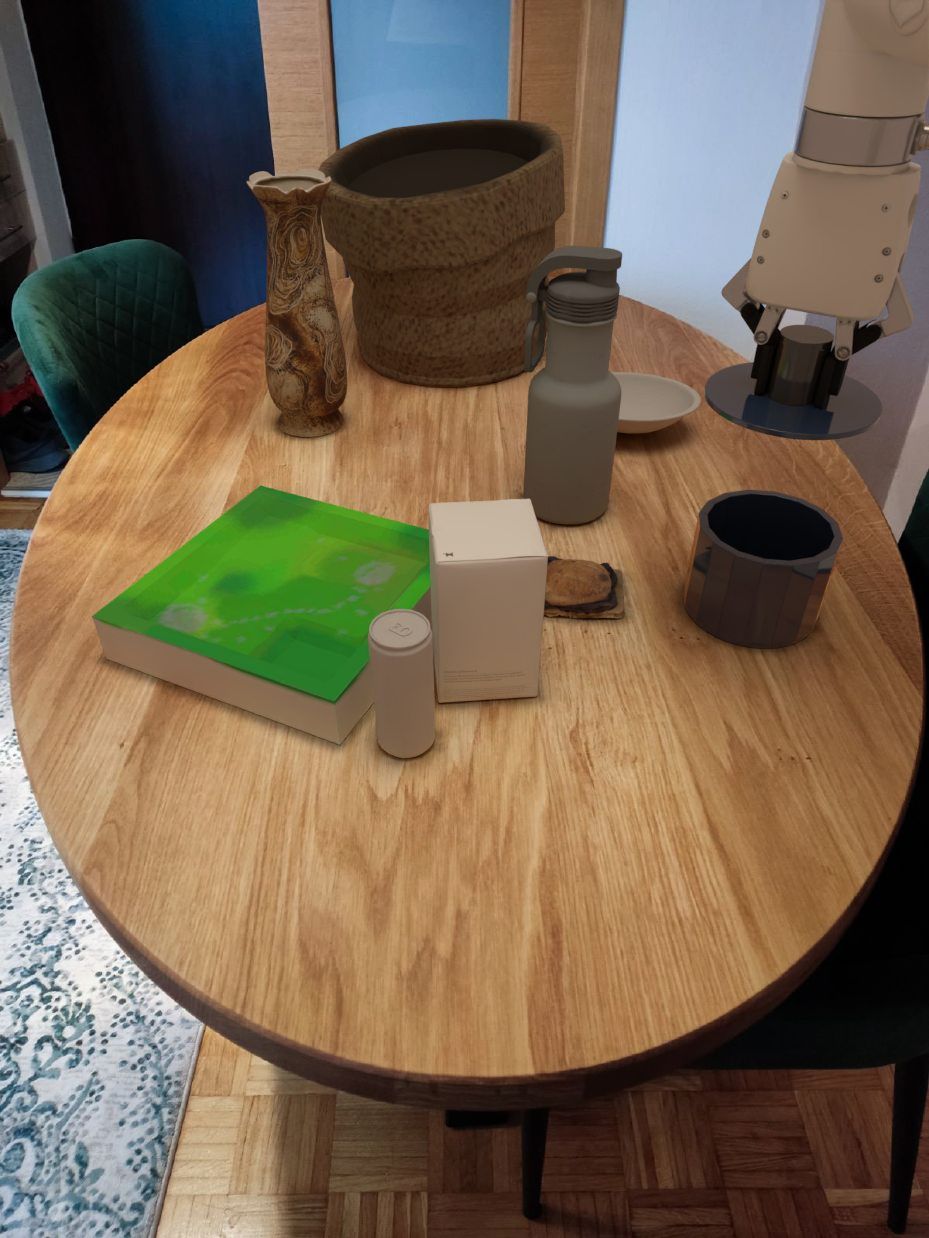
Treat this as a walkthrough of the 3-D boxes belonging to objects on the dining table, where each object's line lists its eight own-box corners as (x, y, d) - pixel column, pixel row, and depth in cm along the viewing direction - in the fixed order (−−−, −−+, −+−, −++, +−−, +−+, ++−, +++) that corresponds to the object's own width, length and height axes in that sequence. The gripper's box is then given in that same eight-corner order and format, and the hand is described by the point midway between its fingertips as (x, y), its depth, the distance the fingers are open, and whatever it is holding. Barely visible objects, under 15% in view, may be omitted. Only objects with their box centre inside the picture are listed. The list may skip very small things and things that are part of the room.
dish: (557, 452, 111) (560, 416, 108) (560, 403, 122) (563, 368, 119) (699, 460, 109) (706, 423, 106) (689, 409, 120) (695, 375, 117)
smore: (622, 573, 91) (626, 543, 89) (624, 624, 84) (628, 593, 82) (519, 566, 92) (521, 536, 89) (513, 615, 85) (515, 585, 83)
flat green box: (266, 524, 98) (260, 485, 95) (469, 581, 90) (469, 540, 86) (106, 658, 80) (91, 616, 77) (340, 744, 72) (334, 700, 69)
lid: (893, 394, 73) (916, 322, 69) (859, 464, 64) (884, 385, 60) (731, 361, 79) (745, 292, 75) (678, 421, 69) (691, 346, 66)
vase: (262, 415, 119) (224, 173, 100) (335, 398, 123) (312, 163, 105) (290, 447, 112) (255, 193, 93) (366, 428, 116) (347, 181, 98)
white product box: (540, 699, 76) (551, 557, 67) (437, 705, 76) (433, 563, 66) (525, 632, 83) (533, 495, 74) (431, 638, 83) (426, 500, 73)
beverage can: (402, 711, 75) (395, 599, 68) (447, 735, 73) (445, 622, 65) (365, 744, 72) (353, 632, 65) (411, 770, 70) (404, 657, 62)
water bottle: (509, 518, 99) (519, 261, 81) (531, 477, 106) (544, 233, 89) (598, 534, 96) (628, 272, 79) (615, 490, 104) (645, 242, 86)
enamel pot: (829, 593, 88) (855, 512, 82) (797, 665, 80) (823, 581, 74) (707, 556, 93) (724, 477, 87) (664, 620, 85) (679, 538, 79)
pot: (368, 304, 153) (354, 107, 134) (567, 317, 148) (582, 114, 129) (300, 387, 126) (271, 156, 108) (540, 407, 121) (553, 168, 102)
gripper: (997, 142, 58) (910, 400, 70) (748, 119, 65) (705, 358, 76) (985, 164, 53) (893, 438, 65) (716, 137, 60) (676, 390, 71)
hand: (792, 392), depth 70 cm, fingers closed on lid, 4 cm apart
